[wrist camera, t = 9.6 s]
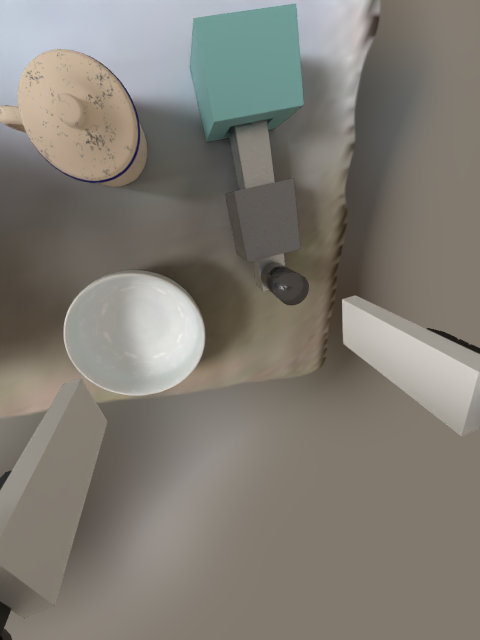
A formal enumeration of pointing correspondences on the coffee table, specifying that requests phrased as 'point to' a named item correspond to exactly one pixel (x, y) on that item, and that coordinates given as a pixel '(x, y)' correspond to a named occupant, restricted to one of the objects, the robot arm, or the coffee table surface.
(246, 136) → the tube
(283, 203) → the sleeve
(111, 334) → the cereal bowl
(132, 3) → the coffee table surface
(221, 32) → the socket
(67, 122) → the teacup with lid
